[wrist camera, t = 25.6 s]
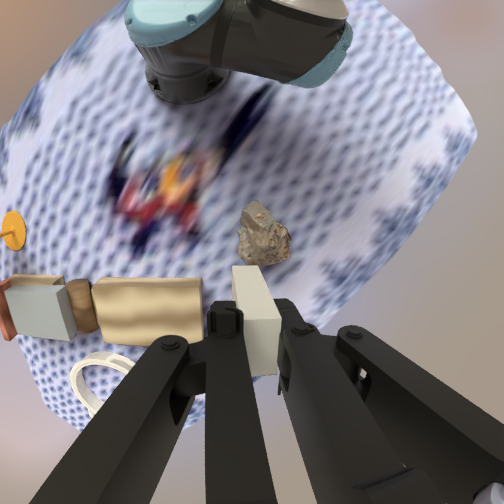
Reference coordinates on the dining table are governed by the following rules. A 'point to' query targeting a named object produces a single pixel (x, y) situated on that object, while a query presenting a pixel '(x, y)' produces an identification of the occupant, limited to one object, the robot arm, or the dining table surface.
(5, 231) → the cup
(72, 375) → the cream oval ring
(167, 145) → the dining table surface
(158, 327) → the track
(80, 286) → the roller
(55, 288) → the slab
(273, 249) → the rock
